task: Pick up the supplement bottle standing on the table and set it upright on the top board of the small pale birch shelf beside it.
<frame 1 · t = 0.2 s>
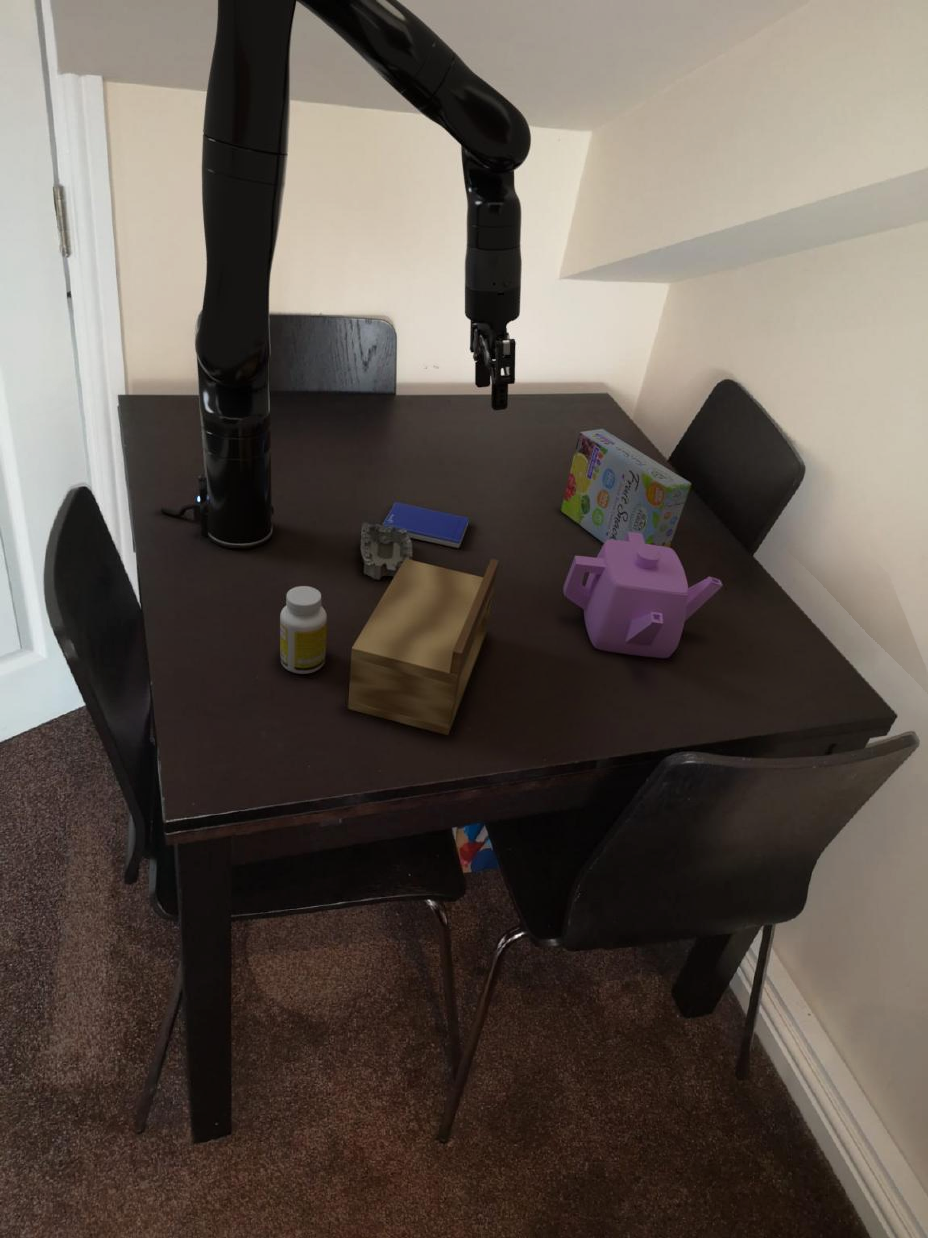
hand: (490, 397, 116), 22 cm above the table, tool pointing down, fingers open, 8 cm apart
supplement bottle: (302, 662, 97), on the table
egg carton: (384, 562, 118), on the table
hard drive: (425, 529, 127), on the table
teakettle: (629, 629, 112), on the table
shelf: (421, 669, 99), on the table
snack box: (609, 539, 133), on the table
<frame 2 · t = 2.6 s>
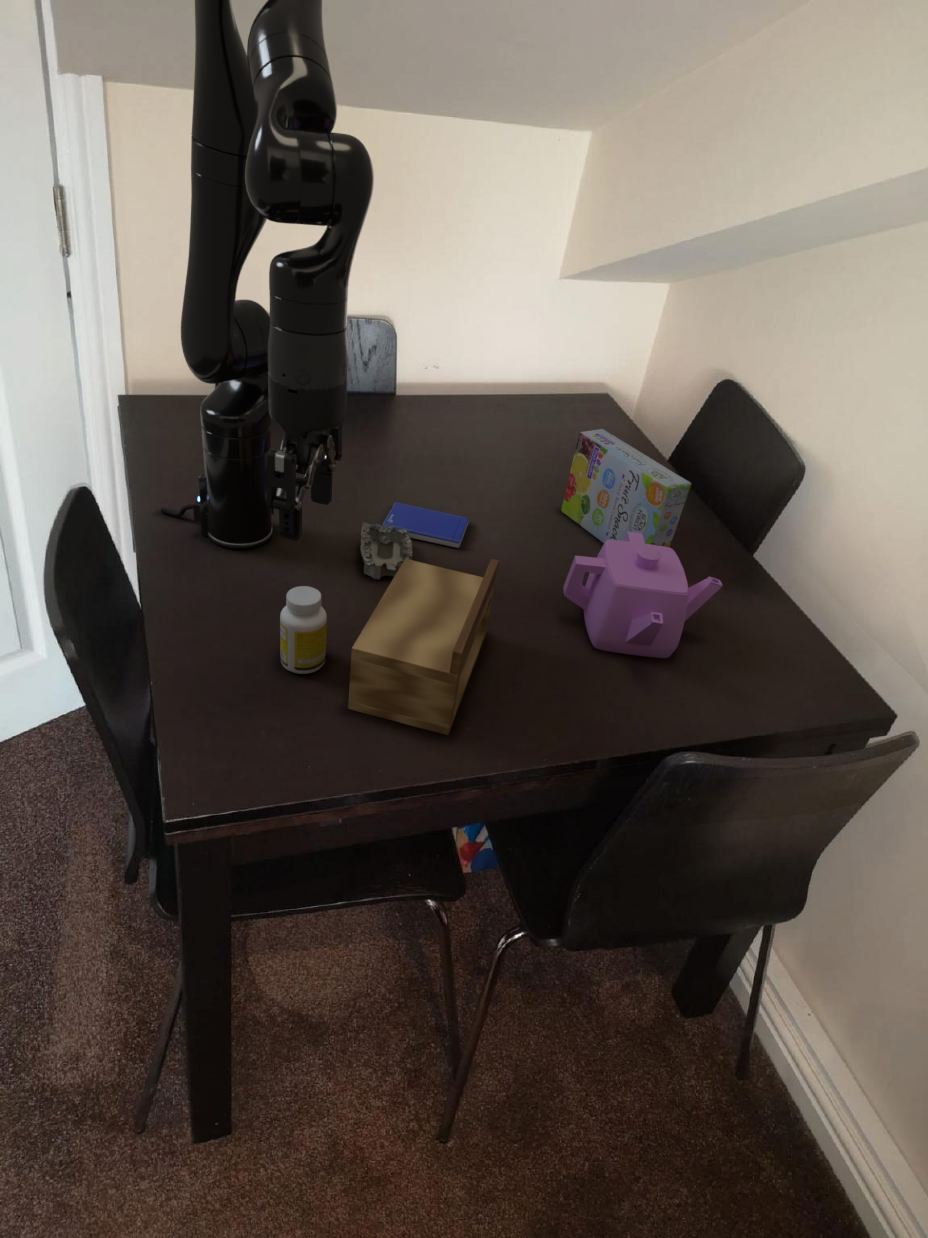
hand: (306, 519, 86), 20 cm above the table, tool pointing down, fingers open, 8 cm apart
nothing on the table moved.
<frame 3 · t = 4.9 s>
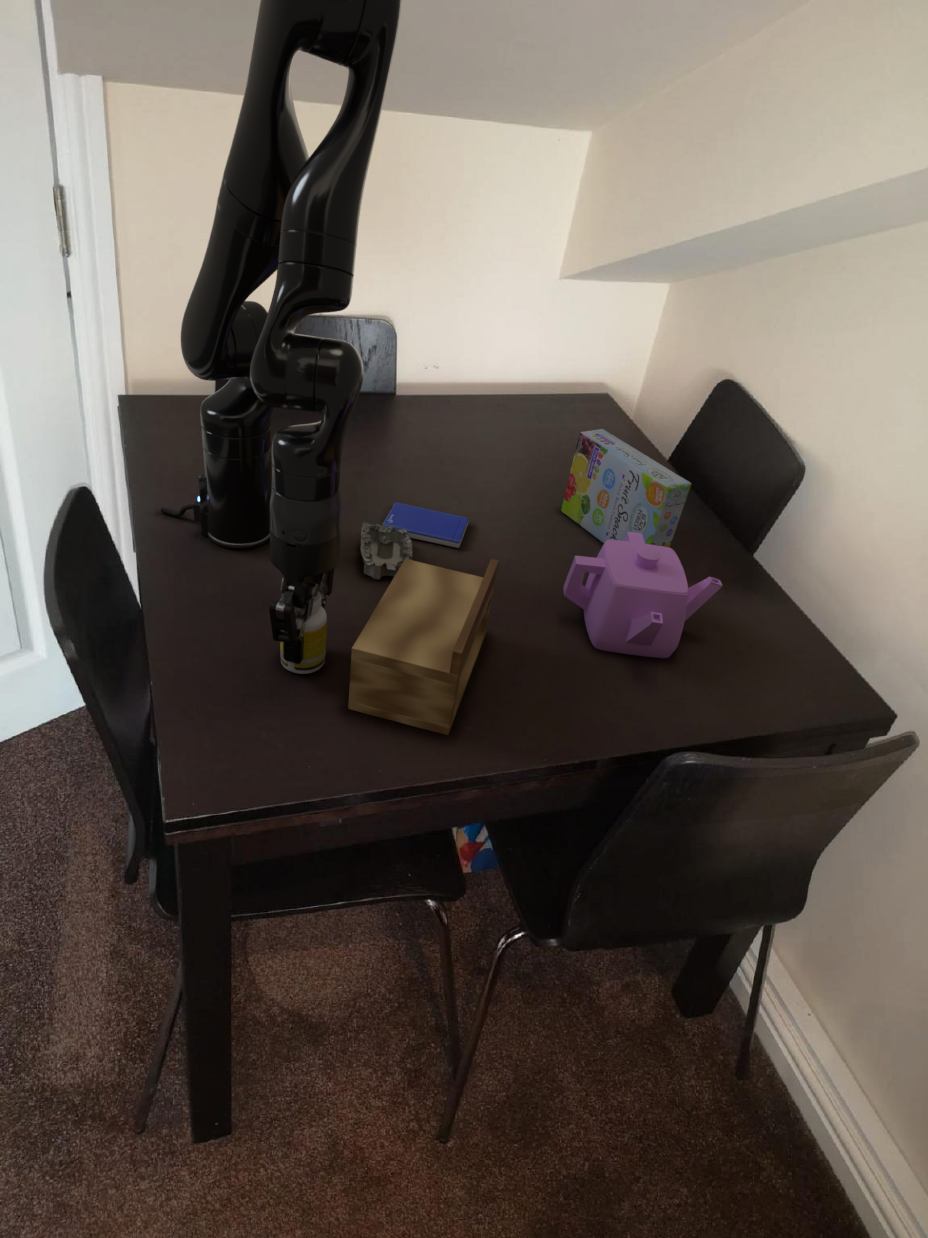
hand: (303, 645, 96), 3 cm above the table, tool pointing down, fingers closed on supplement bottle, 5 cm apart
supplement bottle: (302, 662, 97), on the table, touching gripper
everything else where it was.
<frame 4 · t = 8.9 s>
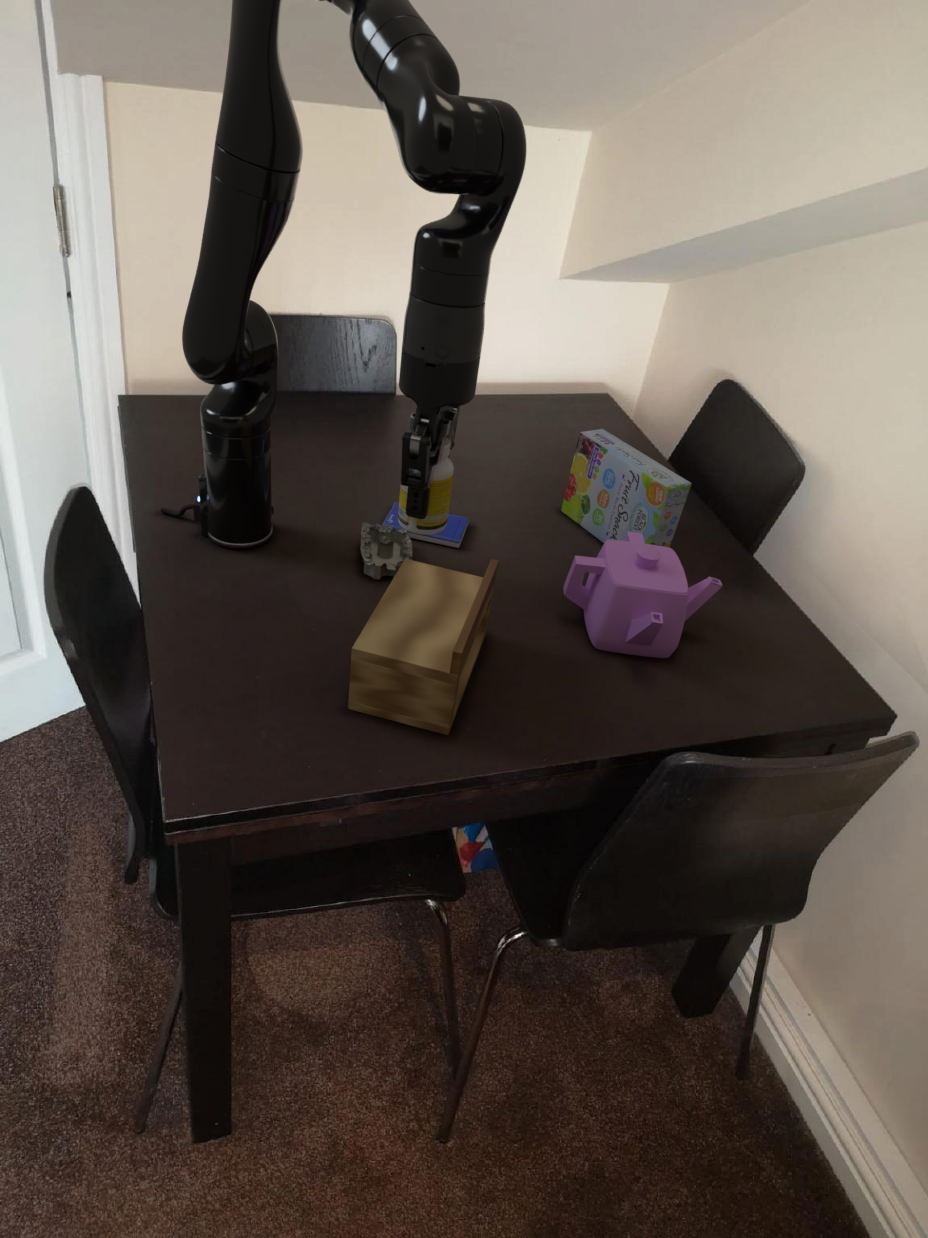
hand: (424, 503, 85), 23 cm above the table, tool pointing down, fingers closed on supplement bottle, 5 cm apart
supplement bottle: (421, 525, 87), point 20 cm above the table, touching gripper
everything else where it was.
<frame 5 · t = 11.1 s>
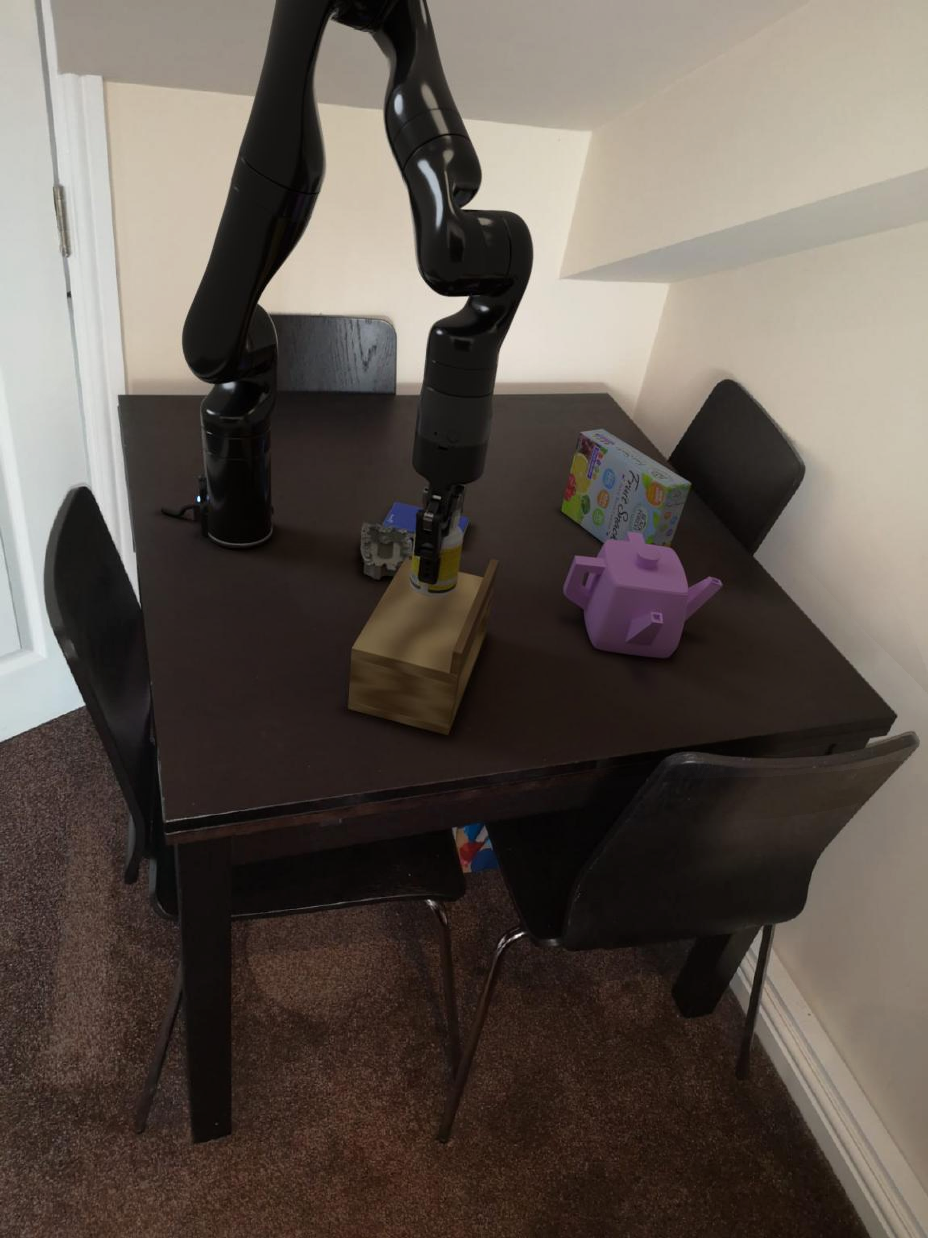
hand: (434, 567, 90), 15 cm above the table, tool pointing down, fingers closed on supplement bottle, 5 cm apart
supplement bottle: (432, 587, 92), point 12 cm above the table, touching gripper
everything else where it was.
when the fingers open (11 cm above the table, at t = 12.7 s): supplement bottle stays where it is, resting on shelf.
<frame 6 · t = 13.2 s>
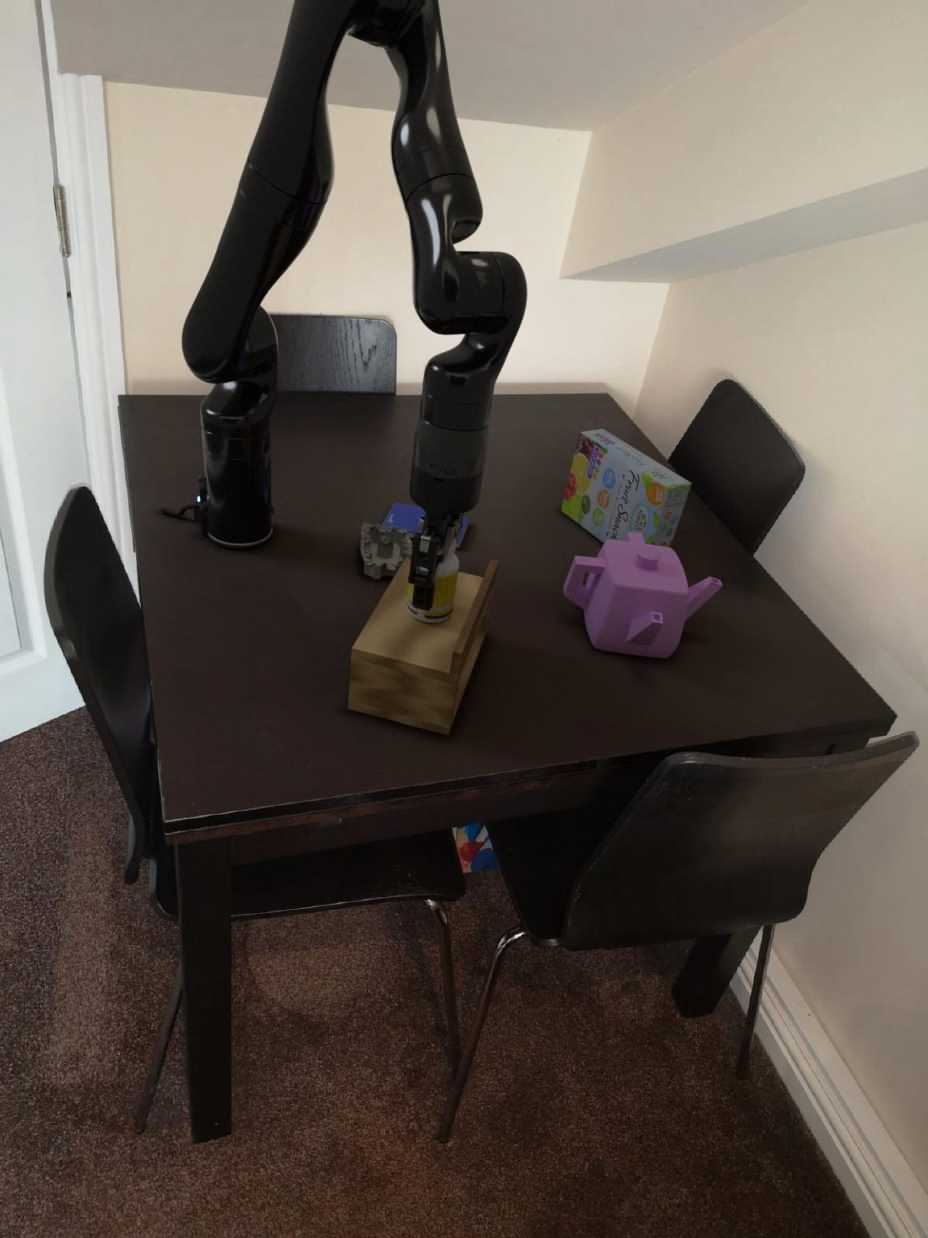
hand: (432, 587, 92), 12 cm above the table, tool pointing down, fingers open, 8 cm apart
supplement bottle: (429, 612, 94), point 9 cm above the table, touching shelf
everything else where it was.
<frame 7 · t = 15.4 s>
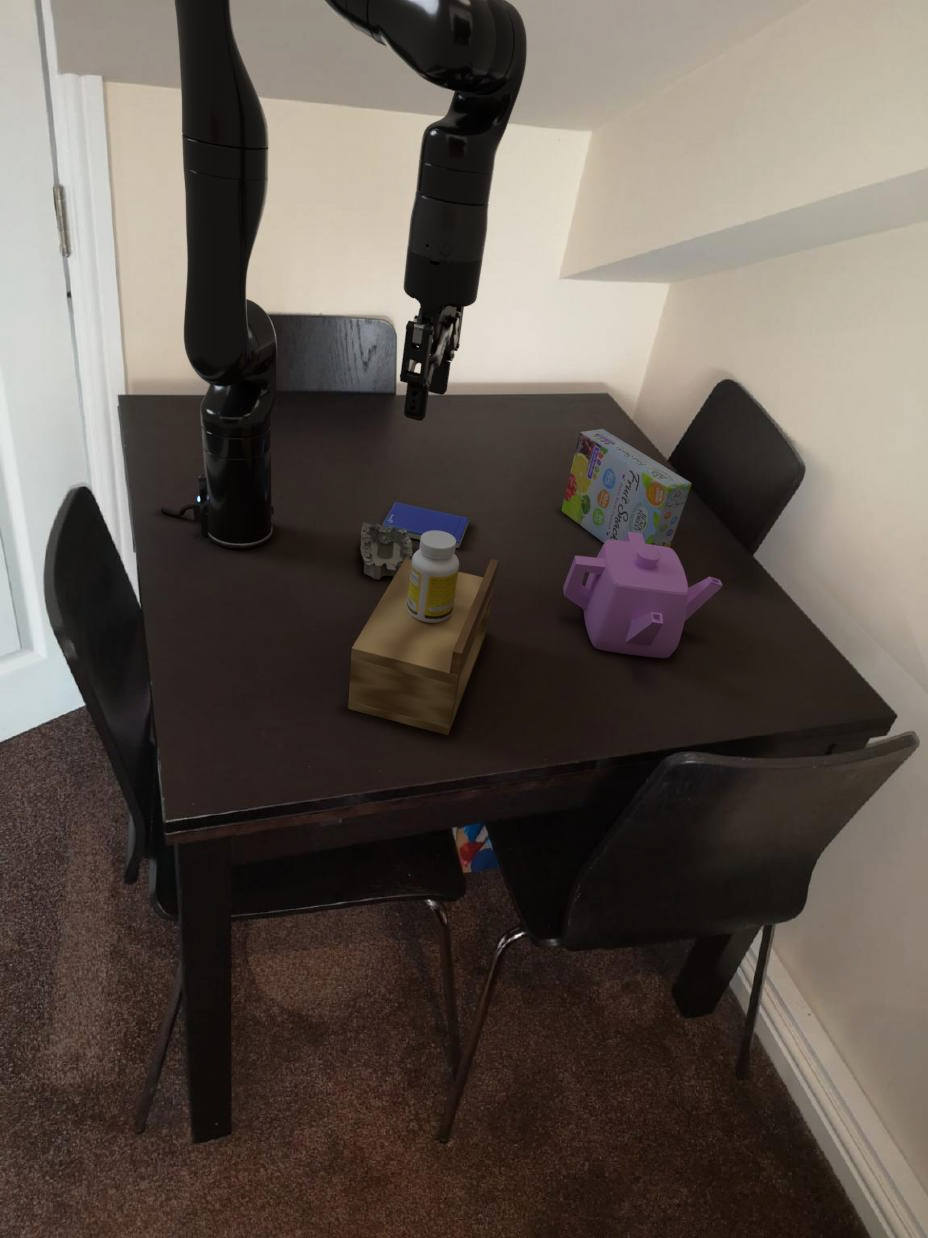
hand: (425, 404, 88), 31 cm above the table, tool pointing down, fingers open, 8 cm apart
nothing on the table moved.
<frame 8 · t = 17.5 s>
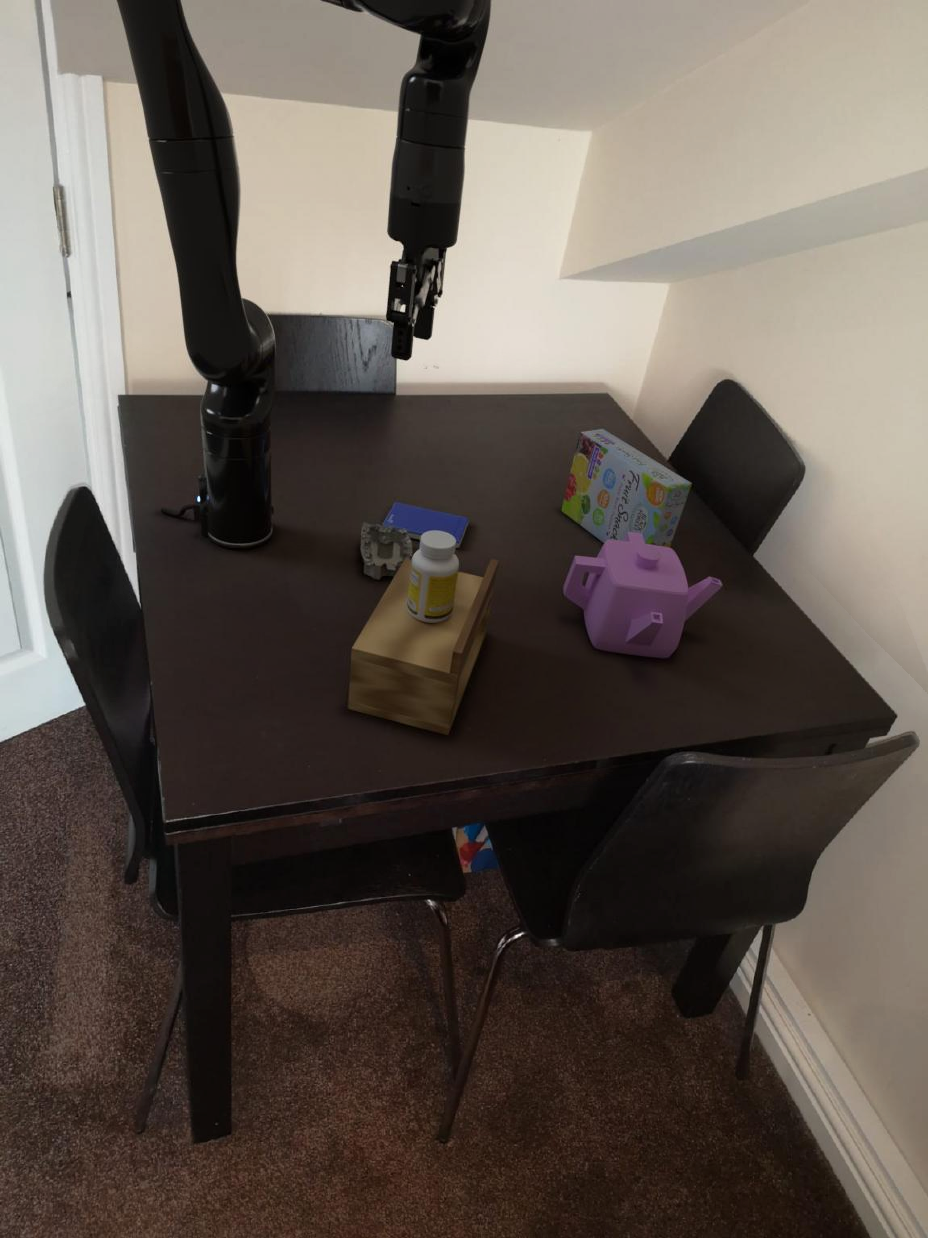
hand: (411, 347, 92), 34 cm above the table, tool pointing down, fingers open, 8 cm apart
nothing on the table moved.
at the end: supplement bottle inside the target area on the shelf (0.1 cm from its centre), point 8.8 cm above the shelf's base; supplement bottle tilted 0°; the gripper is holding nothing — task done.
